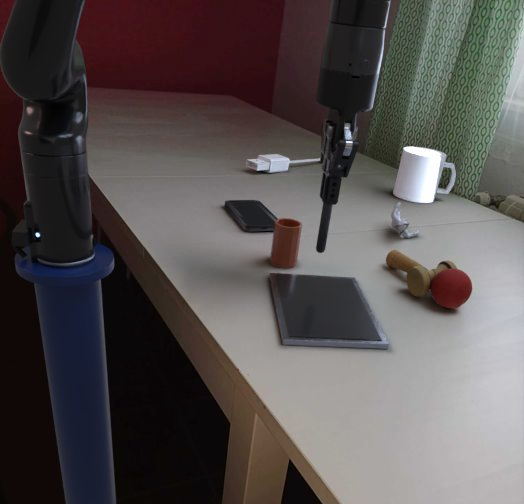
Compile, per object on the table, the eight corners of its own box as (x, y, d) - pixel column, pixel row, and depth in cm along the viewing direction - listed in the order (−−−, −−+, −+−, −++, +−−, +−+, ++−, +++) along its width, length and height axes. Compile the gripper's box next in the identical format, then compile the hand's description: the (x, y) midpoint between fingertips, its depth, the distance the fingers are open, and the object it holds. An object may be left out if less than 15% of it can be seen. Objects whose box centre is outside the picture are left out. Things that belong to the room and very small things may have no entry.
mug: (444, 195, 137) (457, 152, 131) (450, 207, 129) (464, 161, 123) (391, 187, 138) (401, 144, 132) (394, 199, 130) (405, 153, 124)
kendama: (368, 275, 93) (438, 312, 78) (378, 239, 91) (452, 270, 76) (402, 279, 97) (475, 314, 82) (413, 244, 94) (490, 275, 80)
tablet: (282, 344, 69) (283, 338, 69) (268, 277, 86) (269, 271, 85) (387, 349, 71) (389, 343, 70) (354, 281, 87) (355, 276, 87)
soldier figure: (415, 230, 115) (430, 232, 103) (396, 244, 116) (408, 248, 104) (394, 200, 113) (407, 199, 102) (375, 214, 114) (385, 215, 103)
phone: (258, 199, 114) (284, 225, 103) (258, 205, 115) (283, 230, 103) (223, 200, 112) (245, 226, 100) (222, 205, 112) (245, 232, 101)
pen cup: (271, 267, 89) (276, 226, 85) (269, 256, 93) (273, 217, 89) (297, 268, 89) (303, 228, 86) (294, 258, 93) (299, 219, 89)
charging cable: (339, 166, 155) (341, 154, 153) (257, 174, 134) (259, 160, 133) (326, 162, 158) (328, 150, 156) (244, 169, 137) (245, 155, 135)
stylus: (316, 254, 81) (330, 166, 74) (314, 250, 82) (328, 163, 75) (325, 254, 81) (340, 167, 74) (323, 251, 83) (338, 164, 76)
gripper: (312, 58, 73) (296, 185, 83) (331, 70, 62) (309, 215, 72) (365, 64, 74) (343, 189, 84) (393, 76, 63) (364, 219, 72)
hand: (328, 201), depth 78 cm, fingers closed on stylus, 1 cm apart
